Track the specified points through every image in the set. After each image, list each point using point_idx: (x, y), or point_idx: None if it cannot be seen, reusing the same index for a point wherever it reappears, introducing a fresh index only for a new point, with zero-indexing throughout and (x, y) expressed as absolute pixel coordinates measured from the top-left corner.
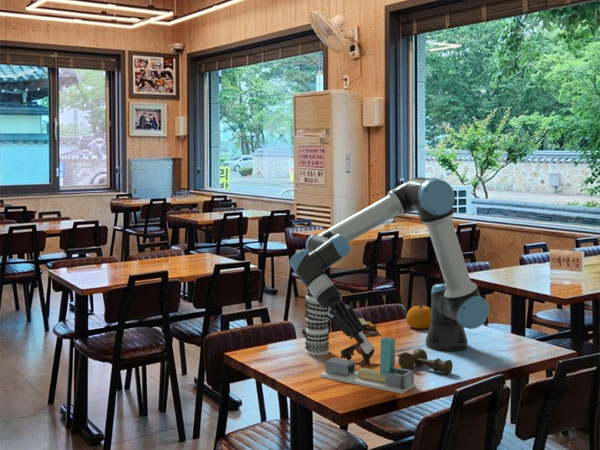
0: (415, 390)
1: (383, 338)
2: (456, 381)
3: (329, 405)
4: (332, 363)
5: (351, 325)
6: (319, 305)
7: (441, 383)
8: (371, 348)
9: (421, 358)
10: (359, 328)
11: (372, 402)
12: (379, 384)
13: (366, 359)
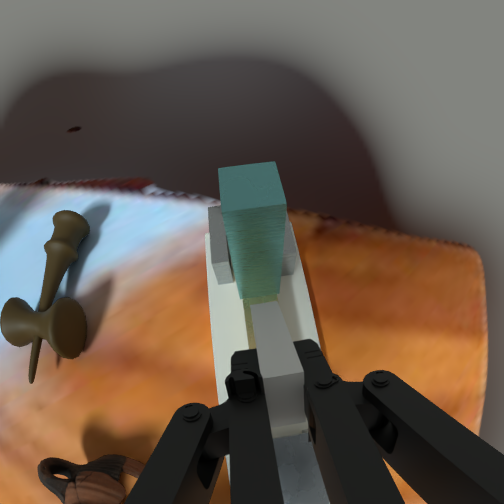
0: None
1: (264, 200)
2: (120, 197)
3: (480, 297)
4: (326, 495)
5: (359, 427)
6: None
7: (149, 208)
8: (278, 304)
9: (31, 308)
10: (255, 405)
11: (396, 242)
12: (295, 295)
13: (113, 463)
